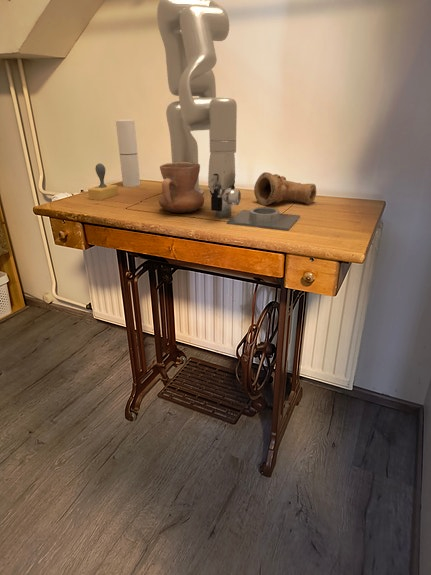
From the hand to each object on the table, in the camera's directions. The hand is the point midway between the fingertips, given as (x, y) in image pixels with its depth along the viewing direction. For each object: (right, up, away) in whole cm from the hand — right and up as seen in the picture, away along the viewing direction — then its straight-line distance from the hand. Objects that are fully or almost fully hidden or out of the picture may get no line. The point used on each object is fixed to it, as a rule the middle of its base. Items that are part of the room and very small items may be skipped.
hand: (223, 206), depth 117 cm
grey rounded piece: (+1, -3, +1) cm, 3 cm away
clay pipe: (+20, +4, +15) cm, 26 cm away
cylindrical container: (-37, +18, +46) cm, 62 cm away
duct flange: (+12, -5, -4) cm, 13 cm away
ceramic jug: (-13, 0, +8) cm, 15 cm away
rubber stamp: (-44, +9, +27) cm, 52 cm away
